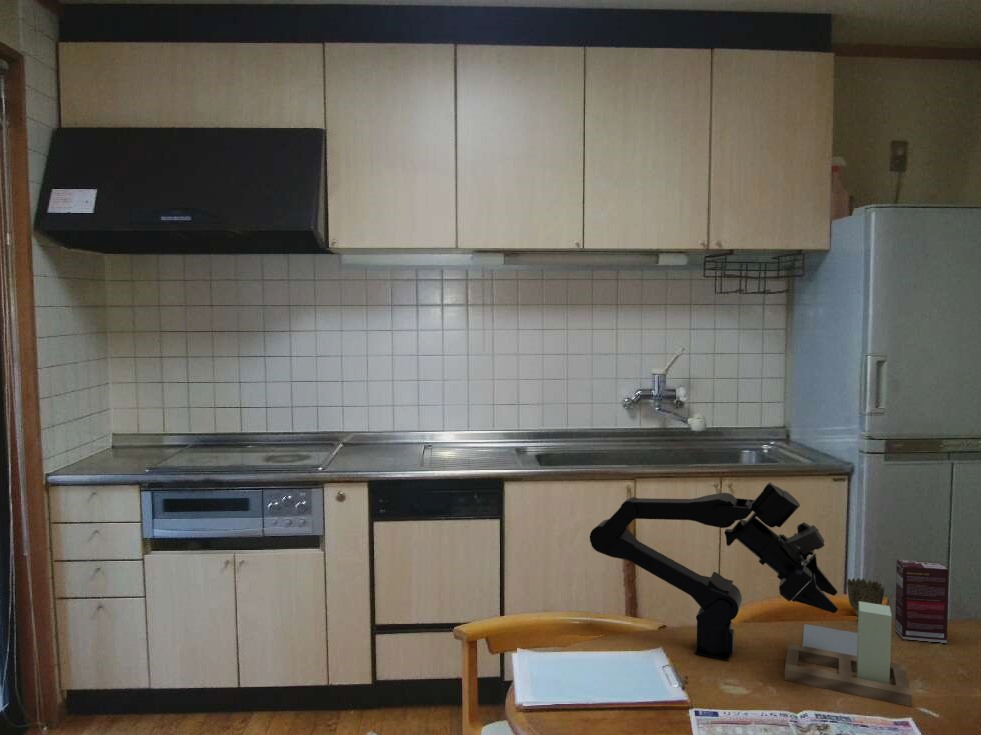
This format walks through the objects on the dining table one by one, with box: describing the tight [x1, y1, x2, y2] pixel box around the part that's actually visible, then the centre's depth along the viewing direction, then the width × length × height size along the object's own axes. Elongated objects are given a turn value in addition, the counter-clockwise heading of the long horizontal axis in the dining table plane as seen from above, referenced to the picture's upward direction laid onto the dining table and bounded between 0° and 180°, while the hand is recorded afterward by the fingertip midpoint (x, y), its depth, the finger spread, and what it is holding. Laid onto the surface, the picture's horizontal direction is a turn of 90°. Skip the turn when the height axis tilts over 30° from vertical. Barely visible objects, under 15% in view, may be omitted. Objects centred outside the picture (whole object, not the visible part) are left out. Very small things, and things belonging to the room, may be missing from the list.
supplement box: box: [894, 559, 950, 644], centre depth 145 cm, size 9×5×16 cm, turn 77°
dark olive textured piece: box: [846, 577, 886, 618], centre depth 155 cm, size 8×7×8 cm
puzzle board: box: [784, 642, 912, 707], centre depth 128 cm, size 20×12×2 cm, turn 64°
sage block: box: [855, 601, 893, 684], centre depth 126 cm, size 5×5×14 cm
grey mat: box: [801, 623, 858, 656], centre depth 141 cm, size 12×12×1 cm
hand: (836, 602), depth 128 cm, fingers open, 9 cm apart
